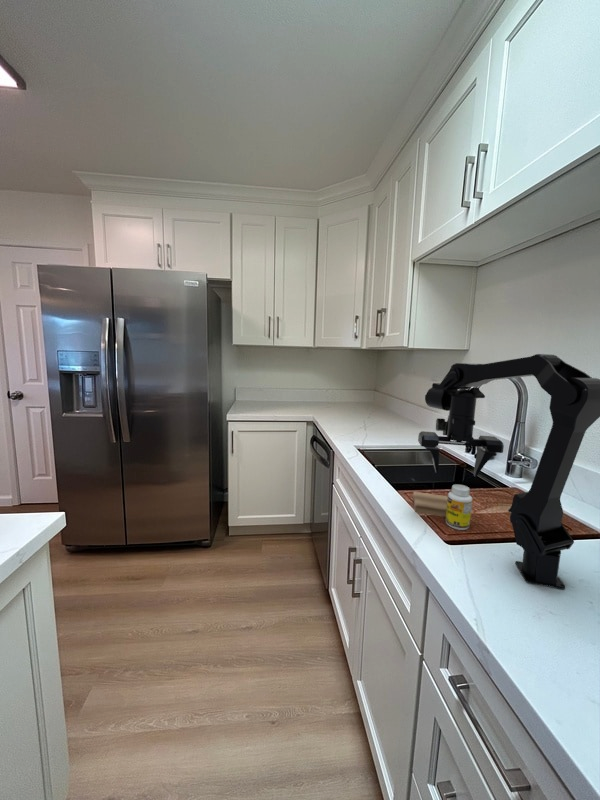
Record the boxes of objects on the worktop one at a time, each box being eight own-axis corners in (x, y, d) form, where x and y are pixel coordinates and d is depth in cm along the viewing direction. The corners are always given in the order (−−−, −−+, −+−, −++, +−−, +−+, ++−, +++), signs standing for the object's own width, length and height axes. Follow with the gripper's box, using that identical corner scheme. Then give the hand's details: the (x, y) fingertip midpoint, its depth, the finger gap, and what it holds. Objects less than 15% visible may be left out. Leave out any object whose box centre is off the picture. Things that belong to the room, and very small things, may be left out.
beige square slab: (454, 518, 89) (455, 511, 89) (415, 512, 92) (415, 505, 92) (448, 502, 99) (449, 496, 98) (413, 498, 101) (413, 491, 101)
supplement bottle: (440, 521, 87) (443, 483, 86) (457, 519, 89) (461, 482, 88) (456, 532, 82) (460, 492, 81) (474, 529, 84) (478, 490, 82)
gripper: (490, 411, 89) (484, 467, 91) (417, 406, 92) (412, 461, 95) (508, 419, 78) (500, 482, 80) (424, 413, 82) (419, 475, 84)
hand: (455, 474), depth 85 cm, fingers open, 9 cm apart
